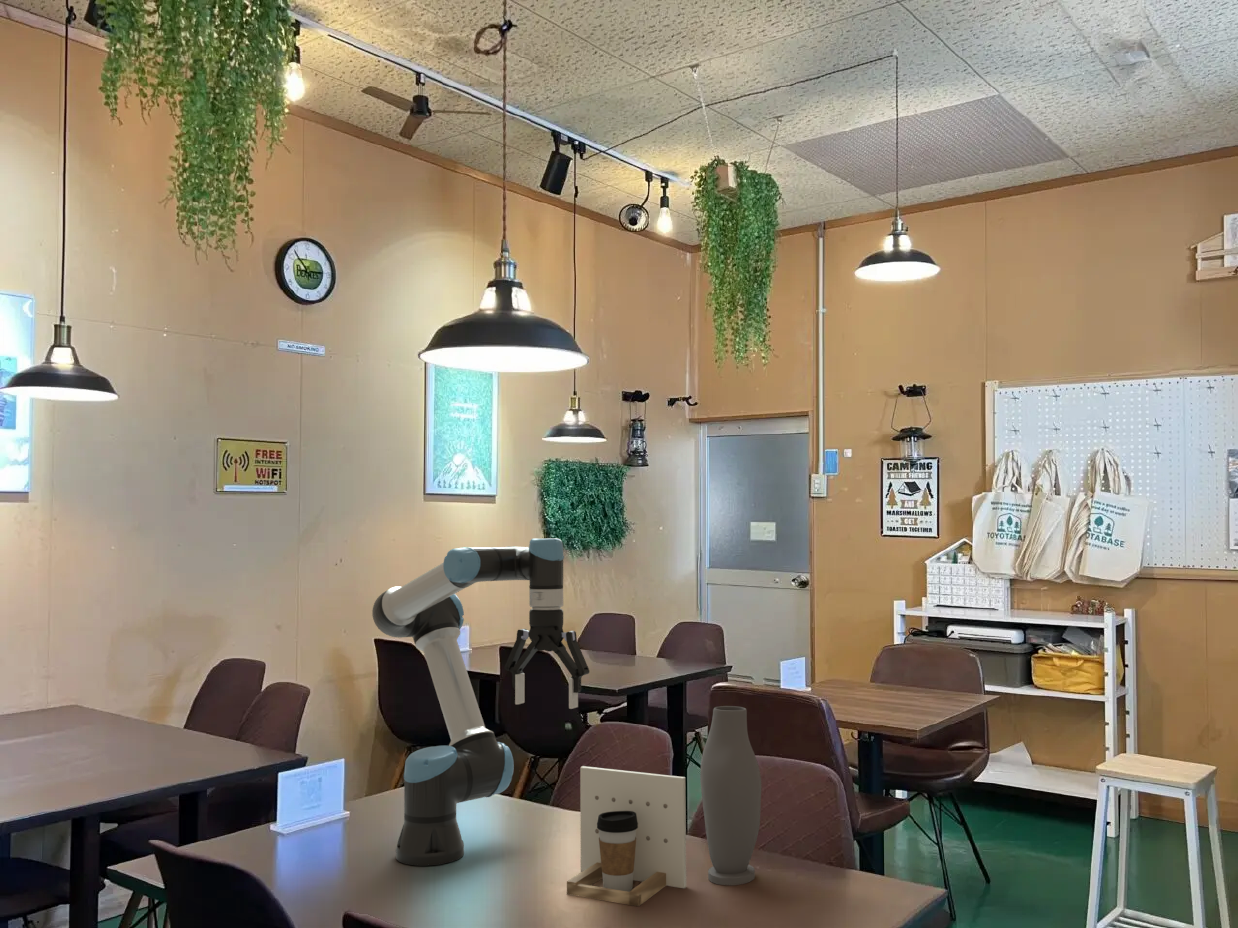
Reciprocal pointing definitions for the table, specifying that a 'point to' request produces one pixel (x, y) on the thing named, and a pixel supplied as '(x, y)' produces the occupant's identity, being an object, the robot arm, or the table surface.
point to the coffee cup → (617, 848)
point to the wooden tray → (635, 897)
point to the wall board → (638, 819)
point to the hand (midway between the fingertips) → (546, 705)
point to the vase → (730, 797)
